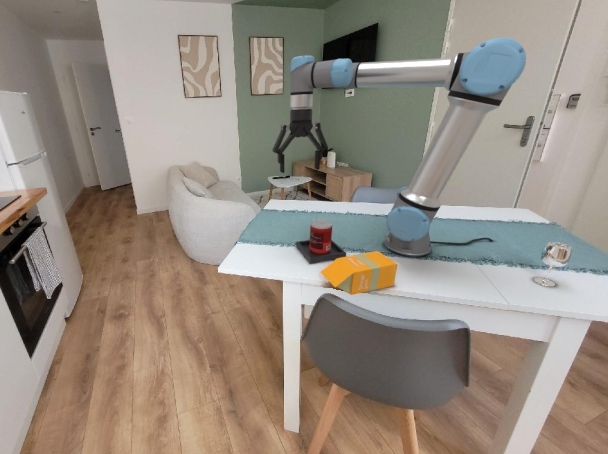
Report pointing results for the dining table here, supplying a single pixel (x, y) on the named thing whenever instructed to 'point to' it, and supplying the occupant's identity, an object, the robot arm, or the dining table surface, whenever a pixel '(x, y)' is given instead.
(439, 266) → the dining table surface
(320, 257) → the base pad
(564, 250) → the wineglass
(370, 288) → the orange juice
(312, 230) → the canned food
